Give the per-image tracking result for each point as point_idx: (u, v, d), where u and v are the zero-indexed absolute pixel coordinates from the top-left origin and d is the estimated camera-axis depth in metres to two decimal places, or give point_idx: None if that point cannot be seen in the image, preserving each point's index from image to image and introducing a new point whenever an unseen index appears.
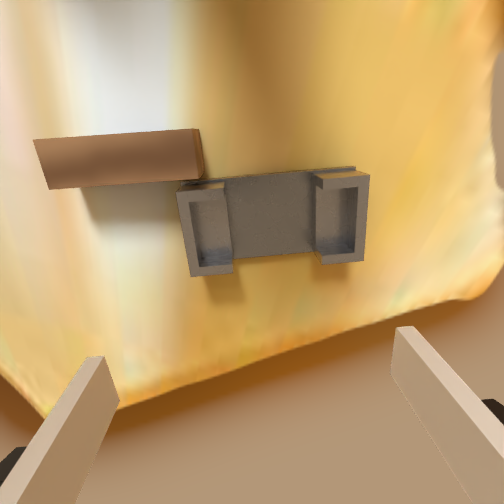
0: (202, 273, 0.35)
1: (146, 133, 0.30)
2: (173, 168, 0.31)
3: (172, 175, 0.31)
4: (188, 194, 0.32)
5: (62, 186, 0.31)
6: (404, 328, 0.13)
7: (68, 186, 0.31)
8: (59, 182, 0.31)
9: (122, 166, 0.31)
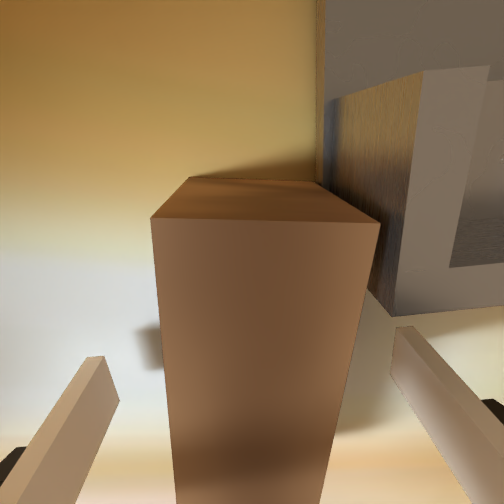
0: None
1: (171, 383, 0.08)
2: (310, 316, 0.07)
3: (339, 324, 0.07)
4: (413, 265, 0.07)
5: None
6: (404, 328, 0.13)
7: None
8: None
9: (274, 455, 0.09)
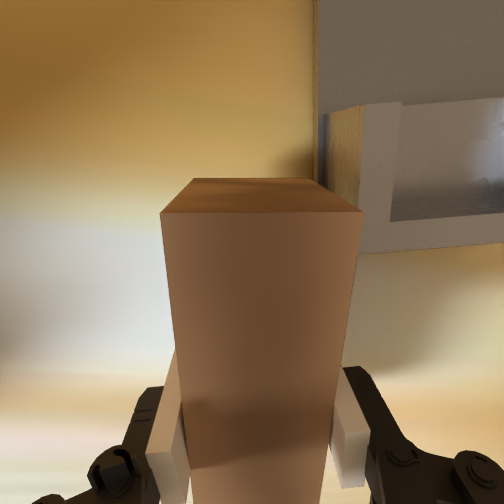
0: None
1: (182, 363, 0.09)
2: (305, 298, 0.08)
3: (332, 305, 0.08)
4: (367, 219, 0.11)
5: None
6: None
7: None
8: None
9: (278, 431, 0.10)
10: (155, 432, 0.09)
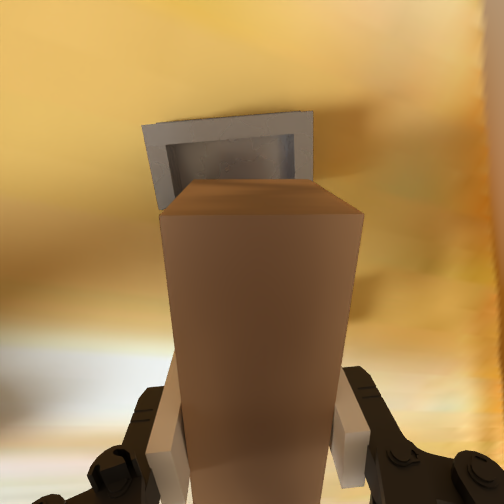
0: None
1: (182, 366, 0.09)
2: (305, 300, 0.08)
3: (332, 307, 0.08)
4: None
5: None
6: None
7: None
8: None
9: (278, 433, 0.10)
10: (155, 432, 0.09)
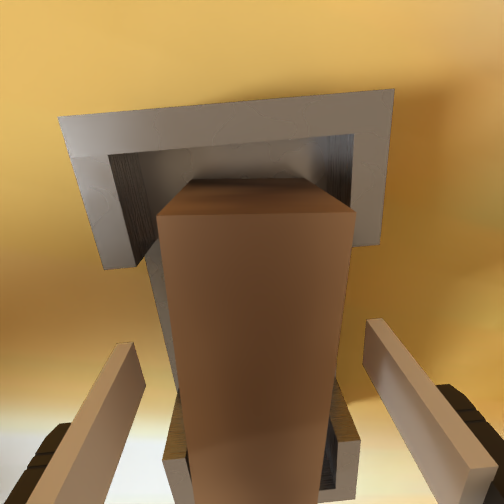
0: (350, 484, 0.17)
1: (181, 362, 0.09)
2: (300, 297, 0.08)
3: (327, 304, 0.08)
4: (181, 503, 0.17)
5: None
6: (374, 320, 0.13)
7: None
8: None
9: (276, 427, 0.10)
10: (40, 487, 0.08)
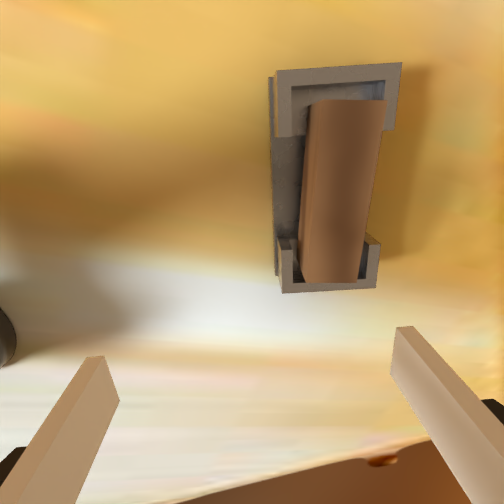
0: (373, 276, 0.32)
1: (319, 162, 0.24)
2: (366, 134, 0.23)
3: (375, 137, 0.23)
4: (285, 282, 0.32)
5: (356, 269, 0.28)
6: (404, 328, 0.13)
7: (358, 263, 0.28)
8: (351, 270, 0.28)
9: (350, 199, 0.25)
10: None
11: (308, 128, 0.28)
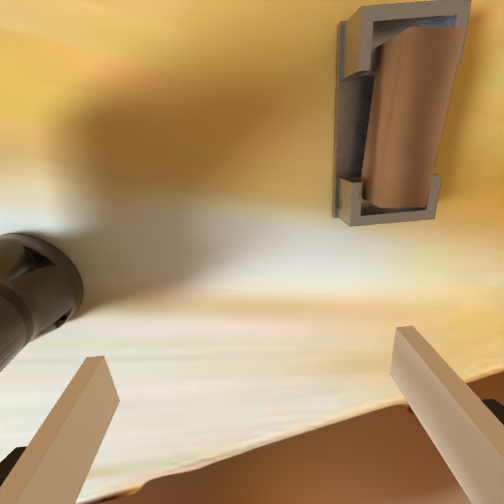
0: (434, 207, 0.35)
1: (401, 87, 0.27)
2: (444, 60, 0.26)
3: (452, 63, 0.26)
4: (353, 215, 0.35)
5: (426, 193, 0.31)
6: (404, 328, 0.13)
7: (428, 187, 0.31)
8: (421, 195, 0.31)
9: (426, 123, 0.28)
10: None
11: (380, 66, 0.31)
